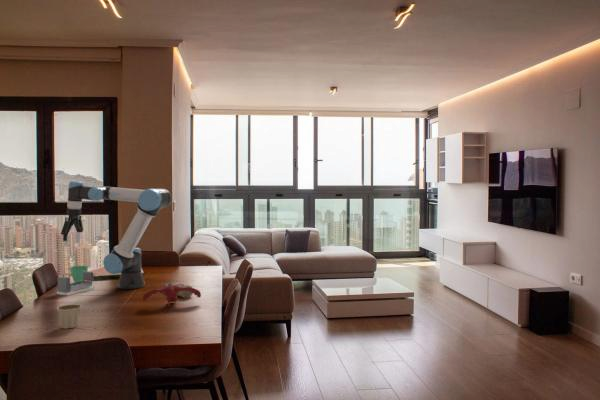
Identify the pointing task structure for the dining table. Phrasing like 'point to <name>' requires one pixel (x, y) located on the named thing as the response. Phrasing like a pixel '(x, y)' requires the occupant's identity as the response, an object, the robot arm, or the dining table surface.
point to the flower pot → (69, 315)
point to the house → (103, 272)
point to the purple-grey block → (87, 277)
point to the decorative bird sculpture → (171, 293)
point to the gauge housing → (72, 286)
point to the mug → (78, 272)
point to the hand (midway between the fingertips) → (71, 244)
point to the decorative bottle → (181, 293)
